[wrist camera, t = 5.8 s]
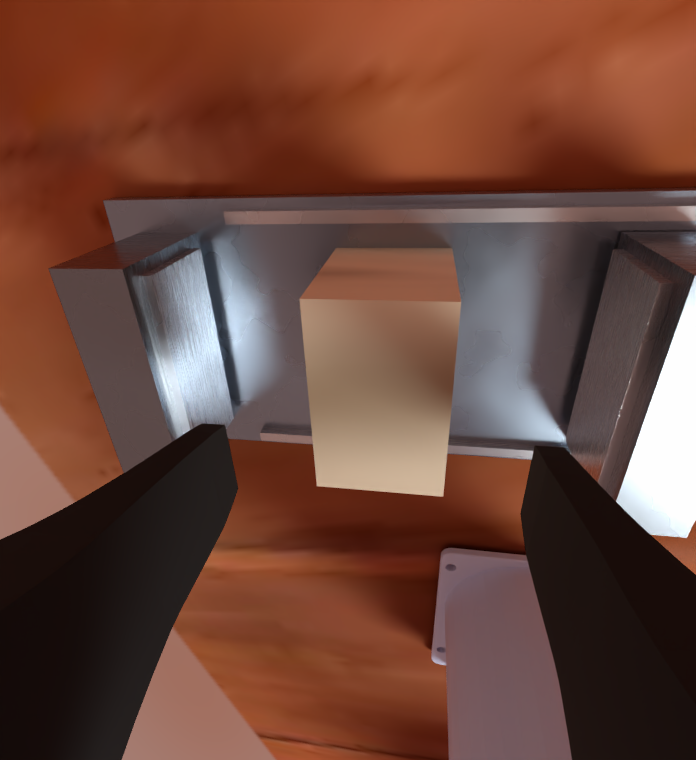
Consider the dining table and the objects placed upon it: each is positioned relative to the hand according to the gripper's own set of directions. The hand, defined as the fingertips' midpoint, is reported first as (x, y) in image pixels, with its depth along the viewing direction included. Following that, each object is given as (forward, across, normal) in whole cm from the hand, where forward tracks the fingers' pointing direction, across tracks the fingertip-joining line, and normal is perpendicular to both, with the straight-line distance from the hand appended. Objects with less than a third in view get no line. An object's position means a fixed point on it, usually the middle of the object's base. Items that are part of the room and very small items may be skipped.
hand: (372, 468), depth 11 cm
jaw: (+7, -10, 0) cm, 12 cm away
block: (+7, 0, 0) cm, 7 cm away
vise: (+8, 0, 0) cm, 8 cm away
